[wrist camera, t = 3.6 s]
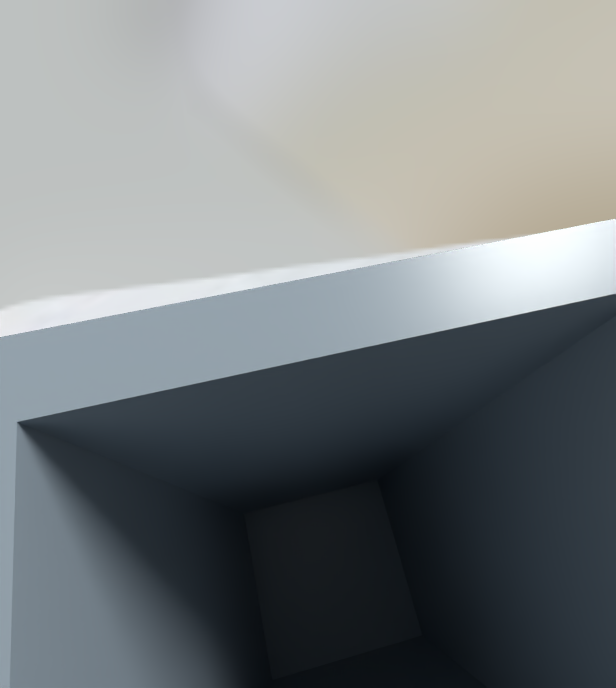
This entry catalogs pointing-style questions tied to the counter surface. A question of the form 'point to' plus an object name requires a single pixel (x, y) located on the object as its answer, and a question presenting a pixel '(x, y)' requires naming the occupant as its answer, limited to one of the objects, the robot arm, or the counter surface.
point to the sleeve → (322, 481)
